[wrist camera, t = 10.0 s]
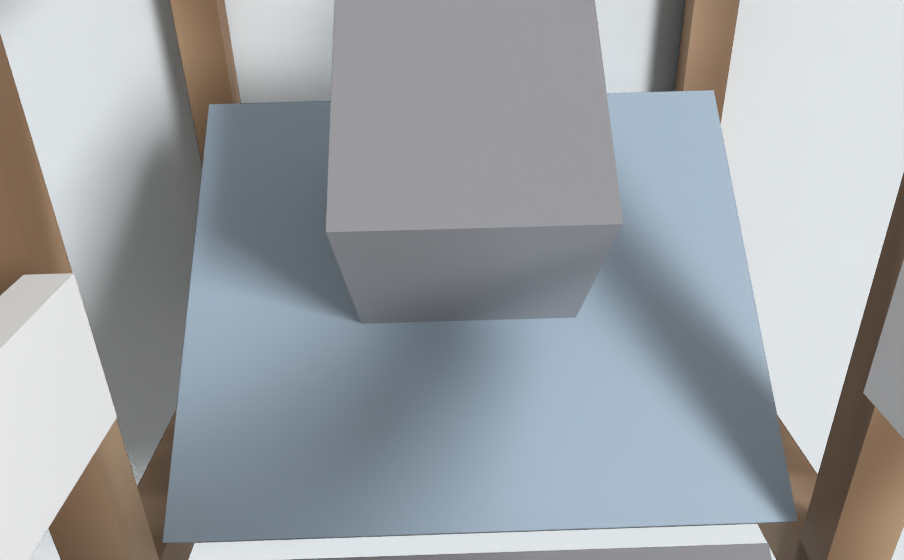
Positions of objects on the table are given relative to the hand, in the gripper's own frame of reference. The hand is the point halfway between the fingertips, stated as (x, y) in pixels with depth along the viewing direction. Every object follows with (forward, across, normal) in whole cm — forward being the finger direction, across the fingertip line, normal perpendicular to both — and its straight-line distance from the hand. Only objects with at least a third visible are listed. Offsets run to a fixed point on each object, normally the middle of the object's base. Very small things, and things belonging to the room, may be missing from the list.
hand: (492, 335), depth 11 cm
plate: (+8, 0, -6) cm, 10 cm away
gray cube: (+10, 0, -2) cm, 10 cm away
